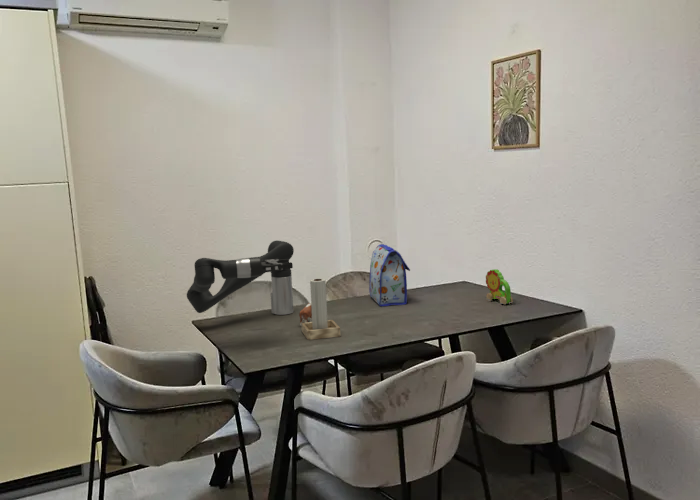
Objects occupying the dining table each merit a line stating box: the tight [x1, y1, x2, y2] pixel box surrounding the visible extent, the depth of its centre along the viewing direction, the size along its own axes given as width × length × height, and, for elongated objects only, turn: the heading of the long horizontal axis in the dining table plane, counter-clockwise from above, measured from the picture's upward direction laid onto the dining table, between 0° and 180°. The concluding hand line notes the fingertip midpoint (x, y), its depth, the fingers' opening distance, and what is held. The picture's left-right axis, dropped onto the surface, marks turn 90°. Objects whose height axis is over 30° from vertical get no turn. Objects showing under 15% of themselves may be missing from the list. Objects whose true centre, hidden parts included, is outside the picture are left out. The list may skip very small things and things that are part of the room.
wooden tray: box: [301, 319, 341, 341], centre depth 248 cm, size 13×13×4 cm
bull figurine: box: [298, 302, 312, 327], centre depth 264 cm, size 4×13×8 cm, turn 161°
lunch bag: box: [368, 243, 411, 307], centre depth 299 cm, size 23×17×27 cm
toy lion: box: [485, 269, 514, 305], centre depth 288 cm, size 16×5×15 cm, turn 25°
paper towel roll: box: [309, 278, 328, 330], centre depth 245 cm, size 7×6×21 cm
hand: (290, 263), depth 241 cm, fingers open, 8 cm apart
